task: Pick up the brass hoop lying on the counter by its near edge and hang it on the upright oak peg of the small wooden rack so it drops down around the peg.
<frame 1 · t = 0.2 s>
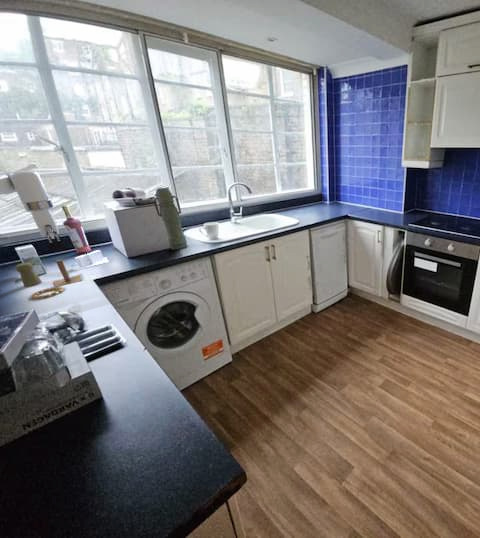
hand: (58, 248, 117), 20 cm above the table, tool pointing down, fingers open, 9 cm apart
rack: (69, 282, 135), on the table
cork: (34, 286, 133), on the table
brass hoop: (48, 293, 123), point 1 cm above the table
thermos: (179, 247, 179), on the table
napkin holder: (90, 263, 158), on the table
liquor: (85, 253, 174), on the table
syrup box: (38, 274, 146), on the table
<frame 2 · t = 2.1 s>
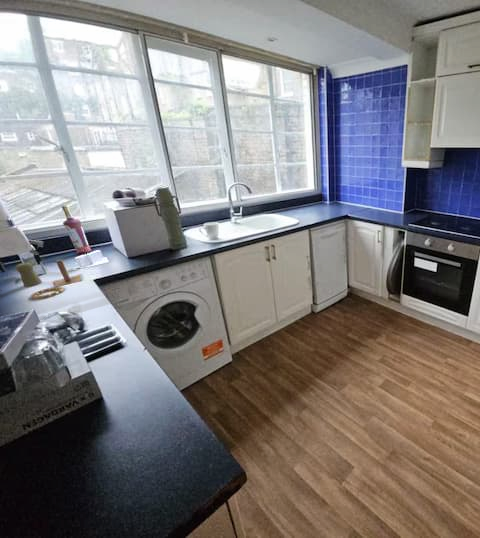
hand: (22, 267, 115), 14 cm above the table, tool pointing down, fingers open, 9 cm apart
nothing on the table moved.
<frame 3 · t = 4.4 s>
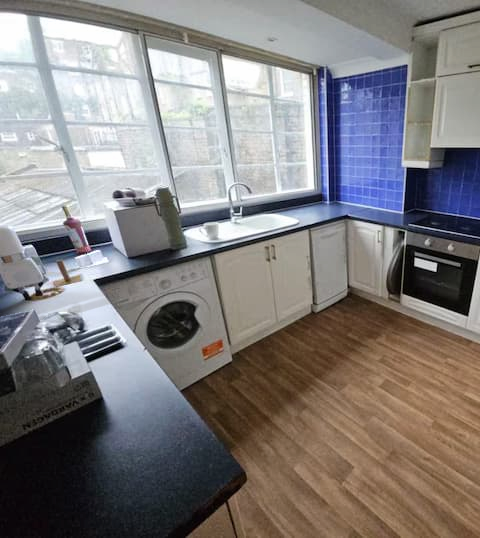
hand: (35, 299, 120), 0 cm above the table, tool pointing down, fingers closed on brass hoop, 2 cm apart
brass hoop: (47, 294, 123), point 1 cm above the table, touching gripper
everything else where it was.
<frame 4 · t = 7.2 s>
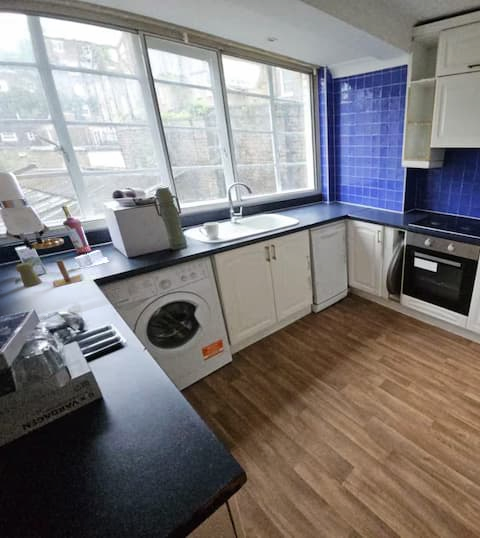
hand: (36, 247, 124), 19 cm above the table, tool pointing down, fingers closed on brass hoop
brass hoop: (47, 243, 126), point 20 cm above the table, touching gripper
everything else where it was.
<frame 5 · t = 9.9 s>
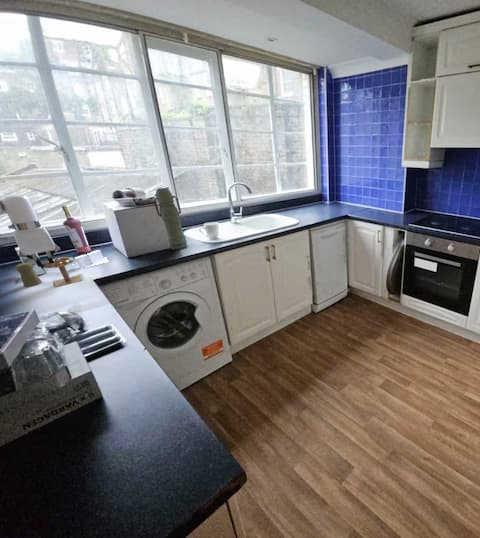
hand: (47, 266, 128), 10 cm above the table, tool pointing down, fingers closed on brass hoop
brass hoop: (58, 262, 131), point 10 cm above the table, touching gripper
everything else where it was.
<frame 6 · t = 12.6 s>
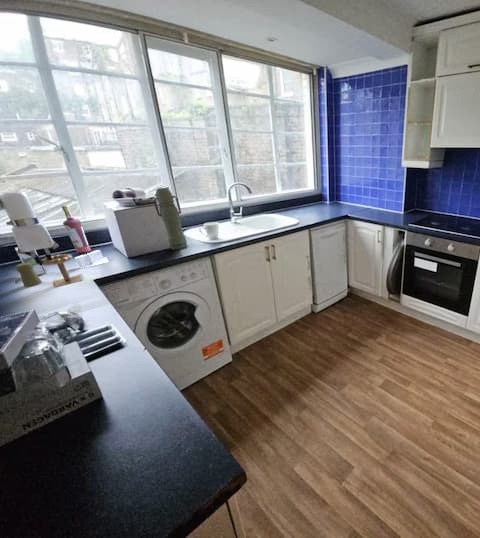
hand: (45, 263, 128), 11 cm above the table, tool pointing down, fingers closed on brass hoop
brass hoop: (57, 259, 130), point 12 cm above the table, touching gripper
everything else where it was.
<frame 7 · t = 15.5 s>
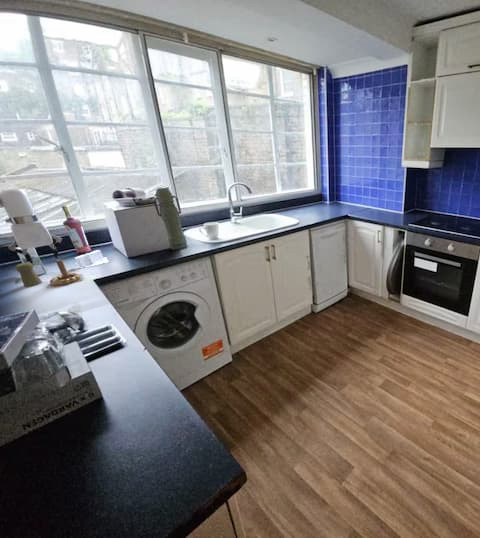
hand: (44, 259, 127), 13 cm above the table, tool pointing down, fingers open, 7 cm apart
brass hoop: (65, 279, 134), point 2 cm above the table, touching rack
everything else where it was.
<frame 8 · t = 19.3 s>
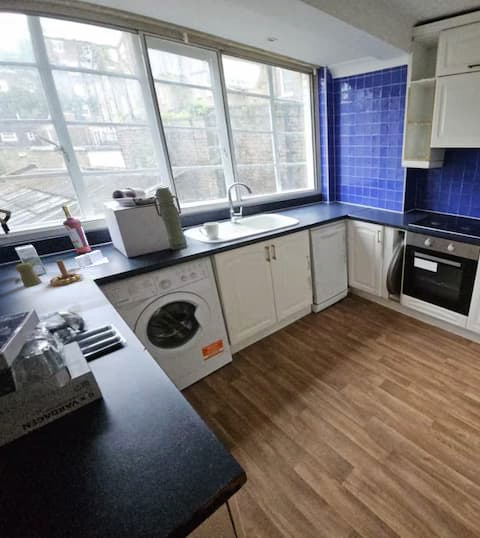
nothing on the table moved.
at the end: brass hoop 0.6 cm off-centre on the rack, point 2.2 cm above the rack's base; the gripper is holding nothing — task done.
